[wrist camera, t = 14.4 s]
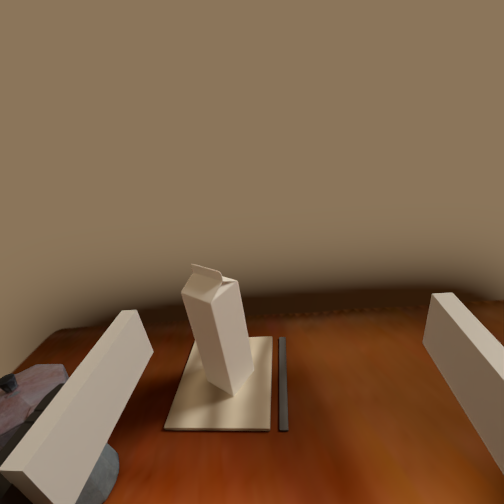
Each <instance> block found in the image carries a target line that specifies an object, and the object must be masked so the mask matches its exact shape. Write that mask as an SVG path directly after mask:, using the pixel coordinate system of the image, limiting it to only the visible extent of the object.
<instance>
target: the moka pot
mask: <svg viewBox="0 0 504 504" xmlns="http://www.w3.org/2000/svg"><path fill="white" fill-rule="evenodd" d="M68 379H69V377H68V375H67V372H66V370H65V368H64V365H62V364H38V365H35V366H33V367H31V368H29V369H26V370H24V371H23V372H21V373H18V374H16V375H14V374H8V375H5V376H4V377H2V378H1V379H0V451H1V449H2V448H3V447H4V446H5V444H6V443H7V442H8V441H9V440H10V438H11V437H12V436H13V435H14V433H15V432H16V431H17V430H18V428H19V427H20V426H21V425H22V424H24V421H25V420H26V419H27V417H28V416H29V415H30V414H31V413H32V412H34V409H35V408H36V406H37V405H38V404H39V403H40V401H41V400H42V399H43V398H44V397H45V395H47V394H48V393H49V392H50V391H51V390H53V389H54V388H55V387H56V386H57V385H59V384H60V383H66V382H67V380H68ZM118 473H119V458H118V453H117V452H116V451H115V450H114V449H113V448H112V447H111V446H110V445H109V444H108V443H106V444H105V446H104V448H103V450H102V452H101V454H100V456H99V458H98V460H97V462H96V464H95V466H94V468H93V470H92V472H91V474H90V475H89V477H88V479H87V481H86V483H85V485H84V487H83V489H82V491H81V493H80V495H79V497H78V499H77V501H76V503H75V504H102V503H103V502H104V501H105V500H106V499H107V498H108V496H109V494H110V492H111V490H112V488H113V487H114V484H115V482H116V479H117V476H118Z"/></svg>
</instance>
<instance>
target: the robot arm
mask: <svg viewBox="0 0 504 504" xmlns="http://www.w3.org/2000/svg"><path fill="white" fill-rule="evenodd" d="M423 345H424V346H425V348H426V349H427V351H428V353H429V354H430V356H431V358H432V359H433V361H434V362H435V364H436V366H437V367H438V369H439V371H440V372H441V374H442V376H443V377H444V379H445V380H446V382H447V384H448V385H449V387H450V389H451V390H452V392H453V393H454V395H455V397H456V398H457V400H458V402H459V403H460V405H461V406H462V408H463V410H464V411H465V413H466V415H467V416H468V418H469V419H470V421H471V423H472V424H473V426H474V428H475V429H476V431H477V432H478V434H479V436H480V437H481V439H482V441H483V442H484V444H485V445H486V447H487V449H488V450H489V452H490V454H491V455H492V457H493V458H494V460H495V462H496V463H497V465H498V467H499V468H500V470H501V471H502V473H503V475H504V347H503V346H502V345H501V344H500V343H499V342H498V341H497V340H496V338H495V337H494V336H493V335H492V334H491V333H490V332H489V331H488V330H487V329H486V328H485V327H484V326H483V325H482V324H481V323H480V322H479V320H478V319H477V318H476V317H475V316H474V315H473V314H472V313H471V312H470V311H469V310H468V309H467V308H466V307H465V306H464V305H463V304H462V303H461V301H460V300H459V299H458V298H457V297H456V296H455V295H454V294H453V293H436V294H432V296H431V302H430V307H429V312H428V317H427V322H426V327H425V333H424V338H423ZM152 353H153V349H152V347H151V344H150V342H149V339H148V337H147V334H146V332H145V330H144V327H143V325H142V322H141V320H140V317H139V315H138V312H137V310H125V311H121V312H120V314H119V315H118V316H117V318H116V319H115V320H114V321H113V323H112V324H111V325H110V326H109V328H108V329H107V330H106V332H105V333H104V334H103V335H102V337H101V338H100V339H99V341H98V342H97V343H96V344H95V346H94V347H93V348H92V350H91V351H90V352H89V353H88V355H87V356H86V357H85V359H84V360H83V361H82V362H81V364H80V365H79V366H78V368H77V369H76V370H75V371H74V373H73V374H72V375H71V377H70V378H69V379H68V380H67V382H66V383H60V384H59V385H57V386H56V387H55V388H54V389H53V390H51V391H50V392H49V393H48V394H47V395H45V397H44V398H43V399H42V400H41V401H40V403H39V404H38V405H37V406H36V408H35V409H34V412H32V413H31V414H30V415H29V416H28V417H27V419H26V420H25V421H24V424H22V425H21V426H20V427H19V428H18V430H17V431H16V432H15V433H14V435H13V436H12V437H11V438H10V440H9V441H8V442H7V443H6V444H5V446H4V447H3V448H2V449H1V451H0V504H75V503H76V501H77V499H78V497H79V495H80V493H81V491H82V489H83V487H84V485H85V483H86V481H87V479H88V477H89V475H90V474H91V472H92V470H93V468H94V466H95V464H96V462H97V460H98V458H99V456H100V454H101V452H102V450H103V448H104V446H105V444H106V443H107V441H108V439H109V437H110V435H111V433H112V431H113V429H114V427H115V425H116V423H117V421H118V419H119V417H120V415H121V413H122V412H123V410H124V408H125V406H126V404H127V402H128V400H129V398H130V396H131V394H132V392H133V390H134V388H135V386H136V384H137V382H138V381H139V379H140V377H141V375H142V373H143V371H144V369H145V367H146V365H147V363H148V361H149V359H150V357H151V355H152Z"/></svg>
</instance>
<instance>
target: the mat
mask: <svg viewBox="0 0 504 504" xmlns="http://www.w3.org/2000/svg"><path fill="white" fill-rule="evenodd" d="M248 338H249V344H250V349H251V354H252V360H253V365H254V371H253V373H252V374H251V375H250V376H249V378H248V379H247V380H246V382H245V383H244V384H243V385H242V387H241V388H240V389H239V391H238V392H237V393H236V394H235V396H232V395H230V394H228V393H227V392H225V391H223V390H222V389H220V388H218V387H217V386H215V385H213V384H212V383H210V382H209V381H208V380H207V377H206V374H205V371H204V367H203V364H202V361H201V357H200V354H199V351H198V347H197V344H196V341H195V342H194V345H193V348H192V351H191V354H190V356H189V359H188V362H187V365H186V367H185V370H184V373H183V376H182V379H181V381H180V384H179V387H178V390H177V392H176V395H175V398H174V401H173V403H172V406H171V409H170V412H169V415H168V417H167V420H166V423H165V426H164V429H165V430H212V431H270V413H271V376H272V337H248ZM279 400H280V431H288V407H287V374H286V340H285V337H279Z"/></svg>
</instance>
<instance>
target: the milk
mask: <svg viewBox="0 0 504 504" xmlns="http://www.w3.org/2000/svg"><path fill="white" fill-rule="evenodd" d="M191 268H192V272H193V273H192V275H191V276H190V278H189V280H188V281H187V283H186V285H185V286H184V288H183V290H182V292H181V295H182V298H183V301H184V304H185V307H186V311H187V314H188V318H189V321H190V324H191V328H192V331H193V334H194V338H195V341H196V344H197V347H198V351H199V354H200V357H201V361H202V364H203V367H204V371H205V374H206V377H207V380H208V381H209V382H210V383H212V384H213V385H215V386H217V387H218V388H220V389H222V390H223V391H225V392H227V393H228V394H230V395H232V396H235V394H236V393H237V392H238V391H239V389H240V388H241V387H242V385H243V384H244V383H245V382H246V380H247V379H248V378H249V376H250V375H251V374H252V373H253V371H254V365H253V360H252V354H251V349H250V344H249V338H248V333H247V327H246V322H245V317H244V311H243V306H242V300H241V295H240V291H239V284H238V281H236V280H233V279H230V278H226V277H223V276H222V274H221V273H220V272H219V271H216V270H213V269H209V268H205V267H202V266H198V265H195V264H192V265H191Z"/></svg>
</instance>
